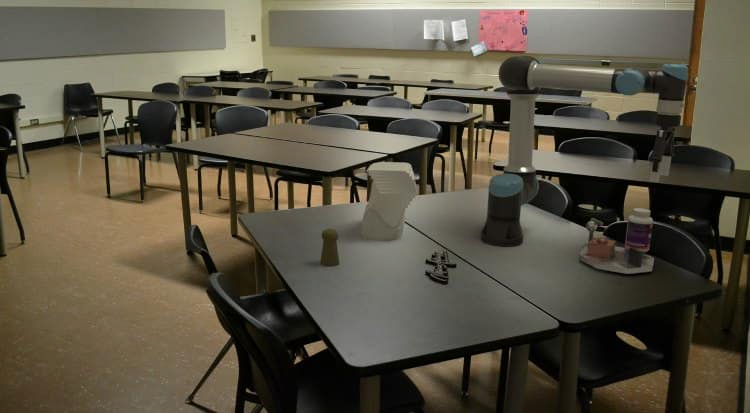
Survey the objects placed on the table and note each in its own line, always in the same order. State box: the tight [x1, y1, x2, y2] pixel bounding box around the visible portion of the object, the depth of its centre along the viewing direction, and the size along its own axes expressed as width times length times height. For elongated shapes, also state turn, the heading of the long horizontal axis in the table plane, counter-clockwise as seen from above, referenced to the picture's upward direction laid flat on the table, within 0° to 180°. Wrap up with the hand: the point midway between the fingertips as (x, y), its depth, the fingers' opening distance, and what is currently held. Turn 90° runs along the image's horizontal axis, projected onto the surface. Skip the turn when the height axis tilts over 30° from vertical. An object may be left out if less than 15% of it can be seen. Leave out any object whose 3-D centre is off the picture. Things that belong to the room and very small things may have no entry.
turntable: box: [578, 245, 655, 275], centre depth 204 cm, size 22×22×7 cm
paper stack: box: [362, 161, 419, 241], centre depth 229 cm, size 21×27×26 cm
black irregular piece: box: [424, 250, 458, 285], centre depth 197 cm, size 27×2×10 cm
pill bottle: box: [624, 207, 654, 253], centre depth 219 cm, size 8×8×14 cm
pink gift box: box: [588, 236, 616, 258], centre depth 207 cm, size 7×7×5 cm
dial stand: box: [581, 217, 604, 250], centre depth 217 cm, size 6×6×11 cm
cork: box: [319, 228, 340, 268], centre depth 198 cm, size 6×6×11 cm
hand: (659, 178), depth 207 cm, fingers open, 13 cm apart
